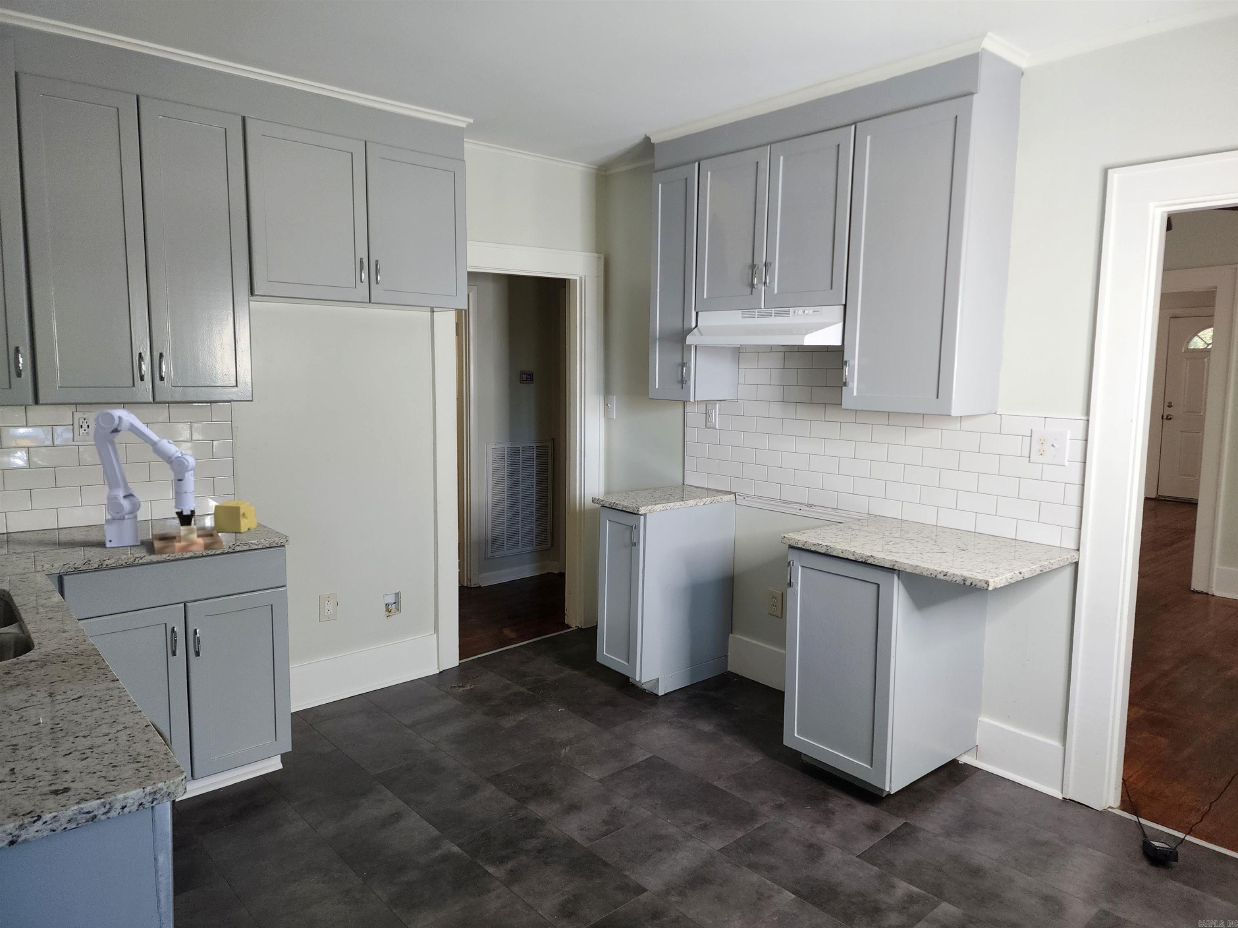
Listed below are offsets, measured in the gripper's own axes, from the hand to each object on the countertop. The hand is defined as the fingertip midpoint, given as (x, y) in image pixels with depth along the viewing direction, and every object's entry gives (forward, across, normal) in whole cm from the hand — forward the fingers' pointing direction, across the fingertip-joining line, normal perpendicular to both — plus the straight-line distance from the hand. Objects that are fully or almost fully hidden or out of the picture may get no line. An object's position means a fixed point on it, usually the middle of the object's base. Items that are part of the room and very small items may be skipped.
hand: (186, 532), depth 268 cm
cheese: (+4, +19, -17) cm, 26 cm away
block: (+1, -7, 0) cm, 7 cm away
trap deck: (+4, -1, 0) cm, 4 cm away
